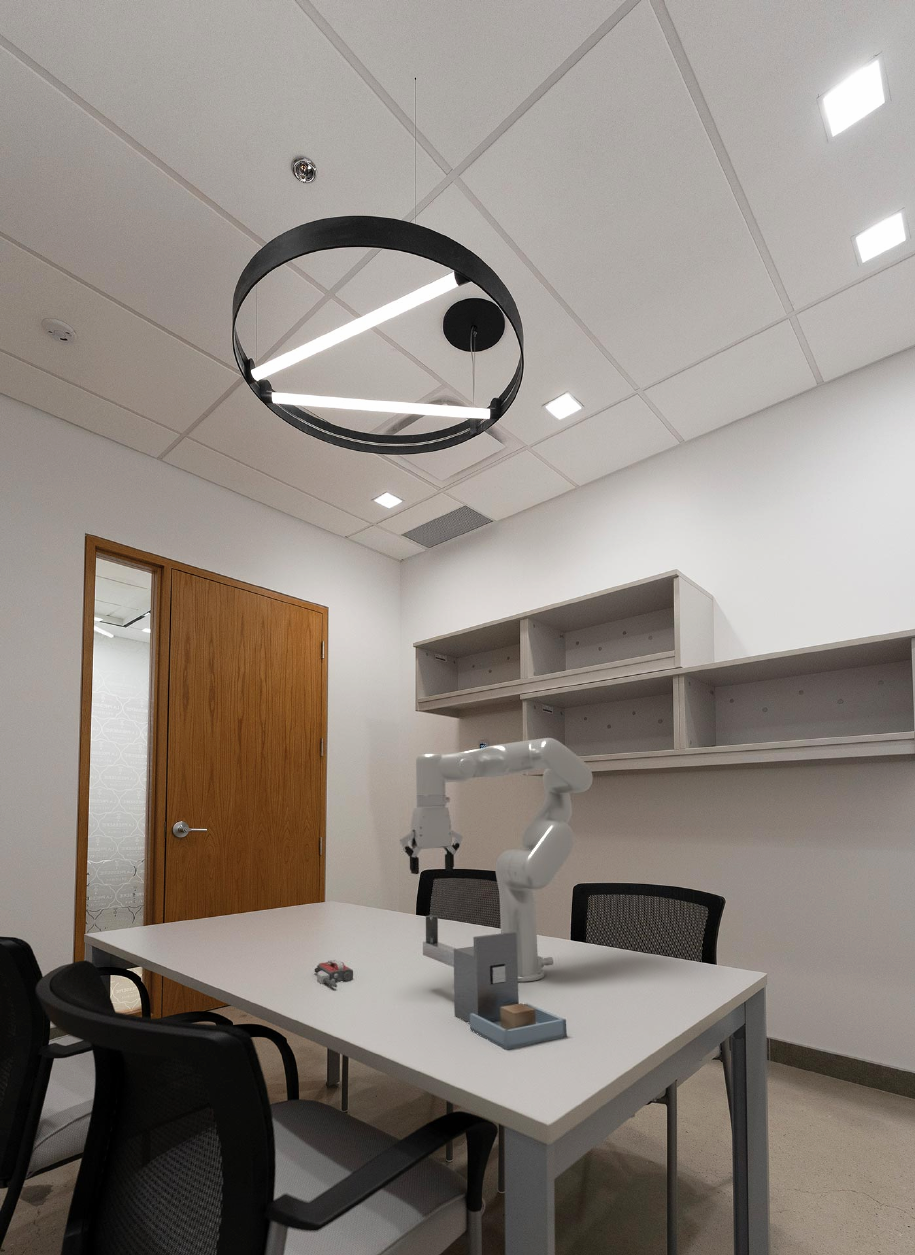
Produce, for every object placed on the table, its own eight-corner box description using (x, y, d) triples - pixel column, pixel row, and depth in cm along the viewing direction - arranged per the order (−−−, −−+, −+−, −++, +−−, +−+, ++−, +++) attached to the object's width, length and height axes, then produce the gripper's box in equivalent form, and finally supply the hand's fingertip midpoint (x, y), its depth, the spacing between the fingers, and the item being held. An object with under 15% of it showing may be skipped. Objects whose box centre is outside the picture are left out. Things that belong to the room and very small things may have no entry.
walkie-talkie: (306, 976, 191) (331, 993, 174) (307, 958, 192) (331, 973, 175) (338, 972, 195) (364, 988, 178) (338, 954, 196) (365, 968, 179)
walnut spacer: (535, 1009, 140) (536, 1031, 139) (521, 1003, 144) (521, 1025, 144) (514, 1013, 138) (514, 1036, 137) (500, 1007, 142) (500, 1029, 141)
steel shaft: (433, 953, 176) (433, 914, 178) (505, 981, 148) (504, 935, 150) (422, 954, 175) (422, 915, 177) (493, 983, 147) (492, 936, 149)
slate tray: (527, 1019, 149) (527, 1003, 150) (566, 1036, 138) (566, 1019, 139) (470, 1030, 143) (469, 1013, 143) (506, 1049, 131) (505, 1031, 132)
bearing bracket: (494, 1008, 157) (492, 926, 161) (519, 1020, 149) (516, 932, 153) (454, 1015, 152) (453, 930, 156) (478, 1028, 144) (476, 937, 148)
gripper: (453, 801, 190) (455, 868, 186) (394, 803, 182) (394, 873, 178) (467, 801, 184) (469, 871, 180) (406, 803, 175) (407, 876, 171)
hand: (432, 872), depth 179 cm, fingers open, 9 cm apart
